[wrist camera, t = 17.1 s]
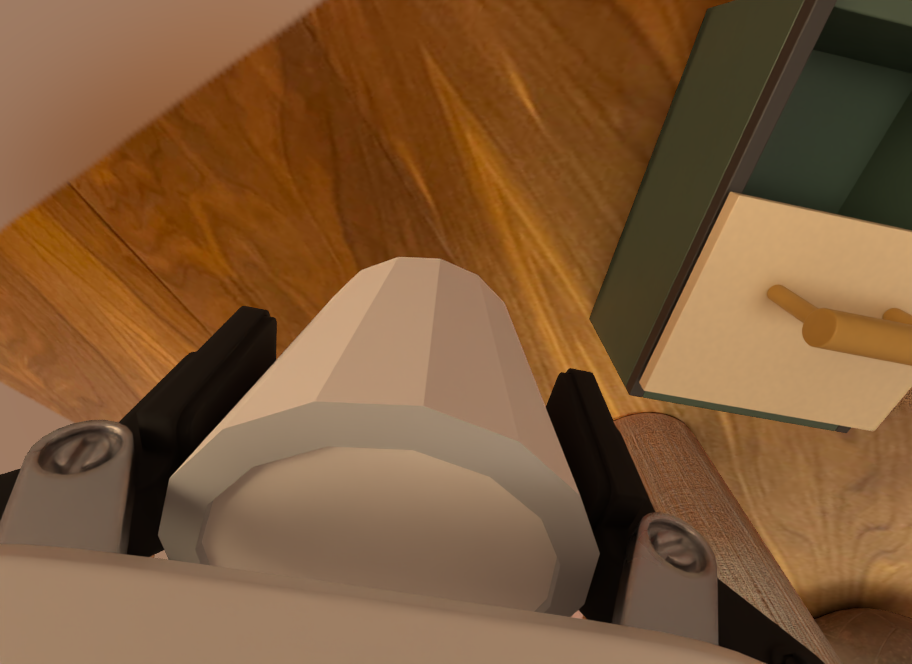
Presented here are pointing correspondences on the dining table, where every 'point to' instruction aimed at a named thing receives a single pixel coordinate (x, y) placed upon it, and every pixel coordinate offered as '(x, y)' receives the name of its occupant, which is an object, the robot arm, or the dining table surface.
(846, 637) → the bowl
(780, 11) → the cabinet
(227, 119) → the dining table surface
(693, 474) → the planter
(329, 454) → the shot glass
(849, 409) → the slide door
